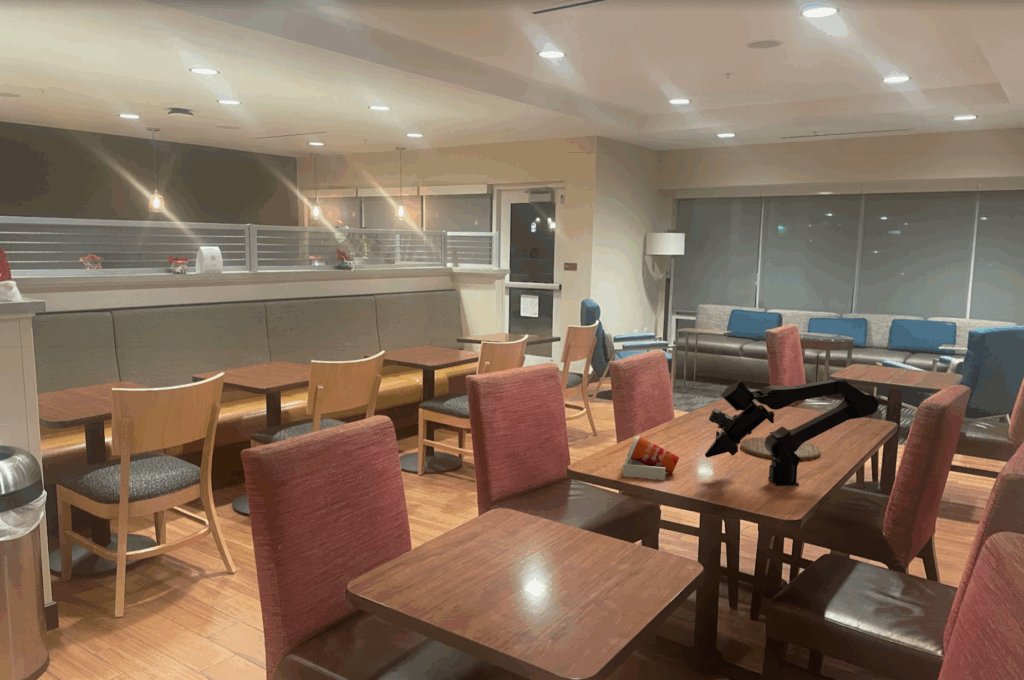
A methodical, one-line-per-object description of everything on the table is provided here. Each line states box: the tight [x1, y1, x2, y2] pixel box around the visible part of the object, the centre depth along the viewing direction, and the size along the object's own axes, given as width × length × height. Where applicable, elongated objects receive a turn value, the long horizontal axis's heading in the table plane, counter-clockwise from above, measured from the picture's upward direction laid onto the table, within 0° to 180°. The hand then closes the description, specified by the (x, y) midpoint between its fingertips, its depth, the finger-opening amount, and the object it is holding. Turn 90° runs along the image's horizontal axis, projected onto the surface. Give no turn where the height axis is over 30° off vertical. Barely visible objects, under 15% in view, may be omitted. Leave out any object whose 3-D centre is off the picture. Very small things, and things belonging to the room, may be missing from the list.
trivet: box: [740, 436, 822, 462], centre depth 235 cm, size 25×25×2 cm
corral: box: [622, 456, 666, 481], centre depth 209 cm, size 12×13×4 cm
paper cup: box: [626, 435, 680, 475], centre depth 209 cm, size 8×8×14 cm
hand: (705, 456), depth 204 cm, fingers closed
